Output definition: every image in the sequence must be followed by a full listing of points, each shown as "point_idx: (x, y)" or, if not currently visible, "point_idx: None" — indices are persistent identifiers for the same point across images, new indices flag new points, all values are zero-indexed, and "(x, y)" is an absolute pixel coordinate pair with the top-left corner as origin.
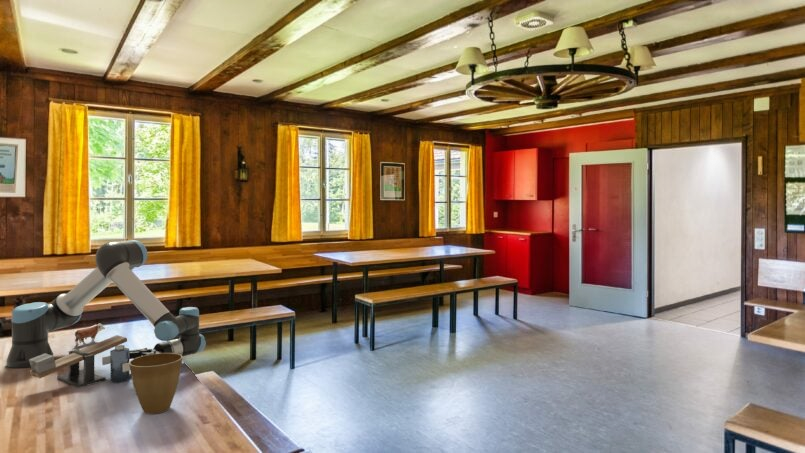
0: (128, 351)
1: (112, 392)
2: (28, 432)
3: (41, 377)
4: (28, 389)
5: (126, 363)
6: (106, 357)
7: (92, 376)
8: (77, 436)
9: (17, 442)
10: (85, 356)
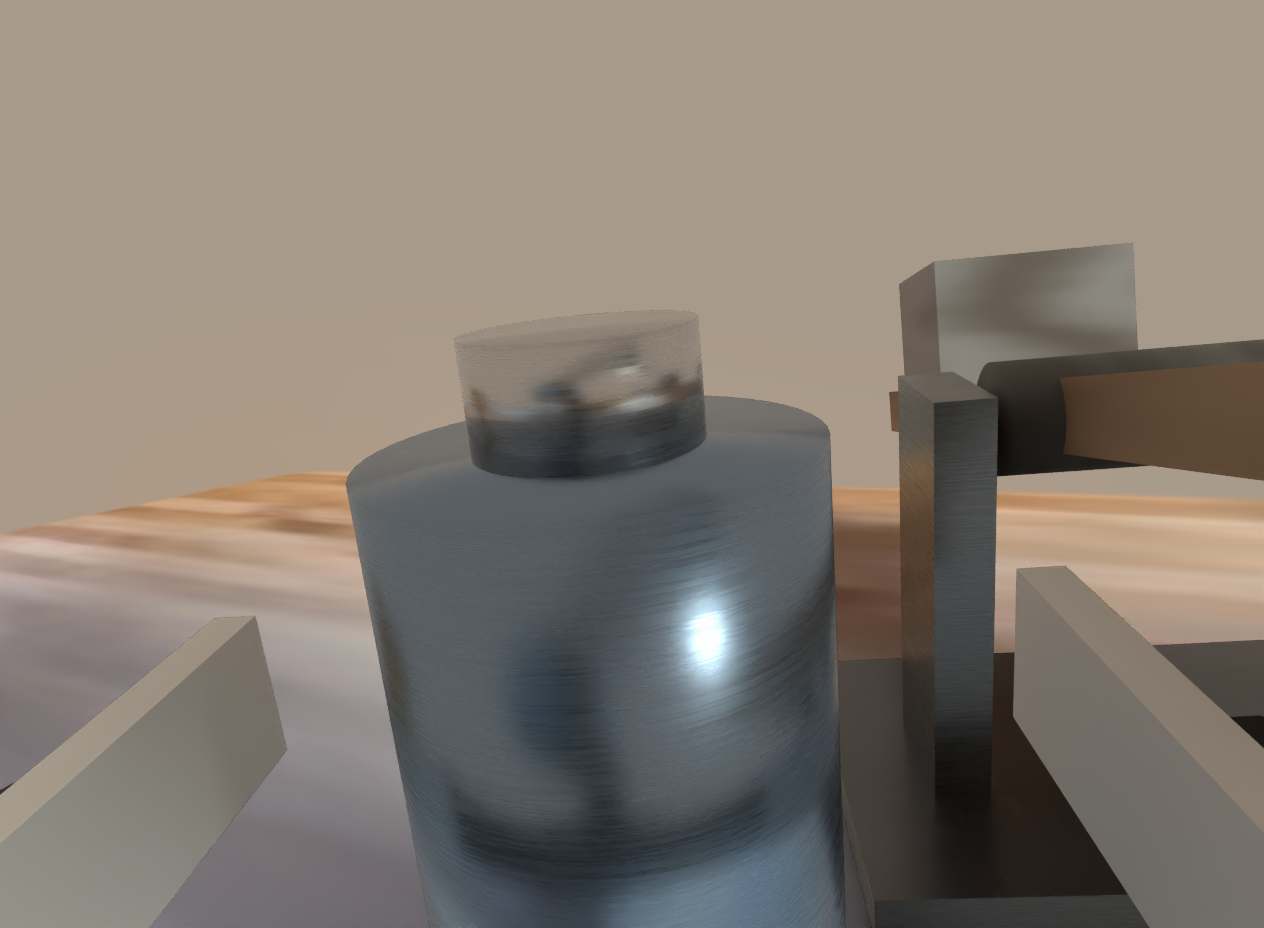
0: (363, 544)
1: (289, 800)
2: (327, 496)
3: (893, 427)
4: (1089, 540)
5: (193, 647)
6: (1044, 604)
7: (926, 735)
8: (38, 549)
9: (289, 481)
10: (914, 376)
